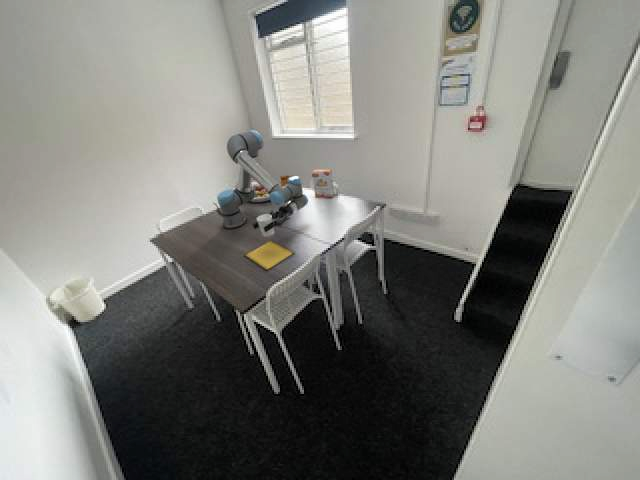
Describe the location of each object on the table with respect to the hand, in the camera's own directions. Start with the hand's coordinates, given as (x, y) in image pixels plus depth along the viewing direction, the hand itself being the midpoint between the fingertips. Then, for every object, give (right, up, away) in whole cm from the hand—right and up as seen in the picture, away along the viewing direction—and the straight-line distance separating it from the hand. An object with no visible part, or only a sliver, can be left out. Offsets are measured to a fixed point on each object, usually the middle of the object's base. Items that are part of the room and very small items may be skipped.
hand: (259, 228), depth 136 cm
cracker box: (+35, +28, +70) cm, 83 cm away
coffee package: (+11, +23, +67) cm, 72 cm away
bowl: (-16, +31, +87) cm, 94 cm away
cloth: (+3, -14, +10) cm, 18 cm away
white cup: (+4, -3, +6) cm, 8 cm away
